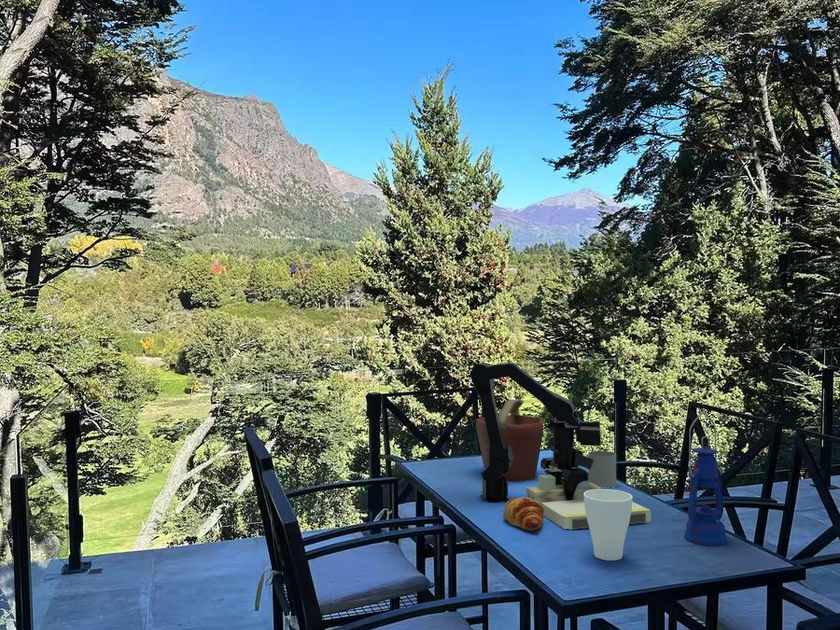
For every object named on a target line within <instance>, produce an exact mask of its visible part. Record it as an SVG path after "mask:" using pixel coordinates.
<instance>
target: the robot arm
mask: <svg viewBox="0 0 840 630" xmlns="http://www.w3.org/2000/svg"><path fill="white" fill-rule="evenodd" d="M469 374H470V375H469V376H470V377H469V378H470V379H471V382H472V385H473V386H474V390H475V391H476V392H477V394H478V396H479V401H480V405H481V410H482V414H483V417H484V420H485V424H486V429H487V434H488V438H489V444H490V445H489V466H488V467H487V468H486V469H485V470H484V469H483V471H482V472H481V477H482V488H481V489H482V490H481V491H482V494H480V497H481V498H482V499H483V500H485V501H486V503H487V502H488V503H494V502H505V501H507V502H508V501H509V500H510V499H509V482H508V481H506V478H505V477H504V476H503V475H504V474H505V473H507V471H508V470H509V468H510V467H511V466H512V462H513V459H514V456H513V454H512V446H511V445H508V446H507V445H506V443H505V442H504V439H503V435H502V431H501V426H500V421H499V417H498V415H499V413H498V408H497V404H496V399H495V394H494V392H495V391H494V389H495V388H494V387H495V380H496V379H503V378H510V379H511V380H512V381H513V382H515V384H517V385H518V386H520V387H521V388H522V389H524V391H526V392H527V393H529V394H530V395H531V396H533V397H534V398H535V399H536V400H538V401H540V403H541V404H542V405H543V406H544V408H545V409H546V410H547V411H548V412H549V413H550V414H551V415H552V417H553V418H552V419H551V420H550V421H549V422H548V423H547V424H546V426H545V428H546V429H552V430H553V431H552V434H553V435H552V439H553V440H552V446H550V451H552V453H553V454H552V455H553V456H552V457H543V458H542V459H541V460H540V462H539V463H540V468H541V469H543V470H544V471H543V472H544V473H545V475H548V474H550V475H552V476H554V477H555V485H562V487H563V491H564V494H565V497H566V500H567V501H569V500H572V499H573V496H574V493H575V490H576V488H577V485H578V484H580V483H581V482H583V481H588V480H589V470H591V467H592V464H593V461H594V459H591V458H589V456H586V455H584V451H582V450H579V449H577V448H576V447H575V442H577V443H579V444H580V446H586V447H587V446H588V447H589V446H591V447H601V446H602V431H601V421H599V420H593V421H589V420H588V421H587V420H586V421H584V420H583V421H582V420H581V418H580V417H579V415H578V414H577V412H576V411H575V406H574V403H573V402H572V401H571V400H570V399H568V398H565V397H564V396H562V395H560V394H558V393H556V392H553V391H551V390H549V389H548V388H547V387H545V386H544V385H543V384H542V383H540V382H539V381H538V380H536V379H535V378H534V377H532V376H531V375H530V374H528V373H527V372H526V371H525V370H523V369H522V367H519V366H518V364H517V363H515V362H508V363H500V364H489V363H487V362H480V363H478V364H475V365H474V366H472V368H471V370H470V372H469ZM555 419H556V420H555ZM574 430H575V431H574ZM583 468H585V469H583ZM586 469H587V470H588V471H587V470H586Z"/></svg>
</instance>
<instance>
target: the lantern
mask: <svg viewBox="0 0 840 630" xmlns="http://www.w3.org/2000/svg"><path fill="white" fill-rule="evenodd" d="M702 415H704V416H705V417H706V418H708V419H709V421H711V423H712V424H713V427H714V448H710V446H711V445H710V444H711V443H710V442H711V440H710V437H709V436H707V435H704V436H702V437H701V440H700V442H701V447H696V448H693V451H694V453H696V456H697V459H695V460H694V465H693V467H694V469H693V470H692V469H691V467H692V466H691V465H692V456H691V454H692V453H691V452H692V451H691V450H692V449H691V446H692V445H691V443H692V441H691V437H692V436H691V433H692V428H693V426H694V425H695V423H696V422H697V420H698V419H700V417H701V416H702ZM688 431H689V432H688V434H689V435H688V437H689V439H688V458H689V459H688V460H689V461H688V462H689V463H688V464H689V465H688V466H689V472H688V473H689V478H690V484H689V494H688V495H689V496H688V505H687V517H688V520H687V521H686V524H685V531H684V536H683V537H684V538H685V540H686V541H688V542H690V543H693V544H697V545H701V546H707V547H721V546H726V545H727V543H728V541H729V540H728V536H727V533H726V532H727V531H726V526H725V523H724V522H722V521H721V518H722V517H723V514H724V502H723V501H724V500H723V499H724V498H723V490H722V478H721V475H722V474H723V471H722V469H720V468H719V464H718V462H717V455H718V450H717V427H716V424H715V422H714V421H713V419H712V418H711V417H710V416H709V415H707V414H706V413H705V412H704V411H703V412H700V414H699V415H698V416H697V417H696V418H695V419H694V420H693V421H692V423H691V425H690V427H689V430H688ZM705 438H707V445H706V446H705V447H704V439H705ZM714 457H715V458H714ZM699 487H700V488H710V489H711V488H713V491H714V500H715V501H714V502H715V507H711V506H709V505H707V504H703V505H701V506H697V499H698V498H697V497H698V488H699Z"/></svg>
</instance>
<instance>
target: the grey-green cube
mask: <svg viewBox="0 0 840 630" xmlns="http://www.w3.org/2000/svg"><path fill="white" fill-rule="evenodd" d="M538 486H539V488H540V489H542V490H544V491H547V490H556V489H555V477H554V476H552V475H550V474H548V475H546V474H538Z"/></svg>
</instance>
